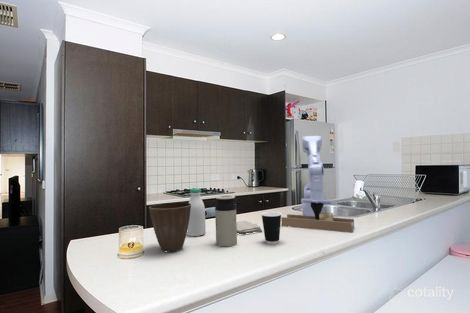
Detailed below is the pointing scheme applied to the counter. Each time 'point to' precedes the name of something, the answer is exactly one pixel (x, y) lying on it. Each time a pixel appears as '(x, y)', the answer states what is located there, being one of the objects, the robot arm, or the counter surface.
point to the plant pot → (170, 224)
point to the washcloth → (247, 227)
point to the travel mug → (225, 221)
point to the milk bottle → (196, 214)
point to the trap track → (318, 223)
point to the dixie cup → (271, 226)
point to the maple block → (326, 216)
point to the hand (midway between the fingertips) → (317, 219)
